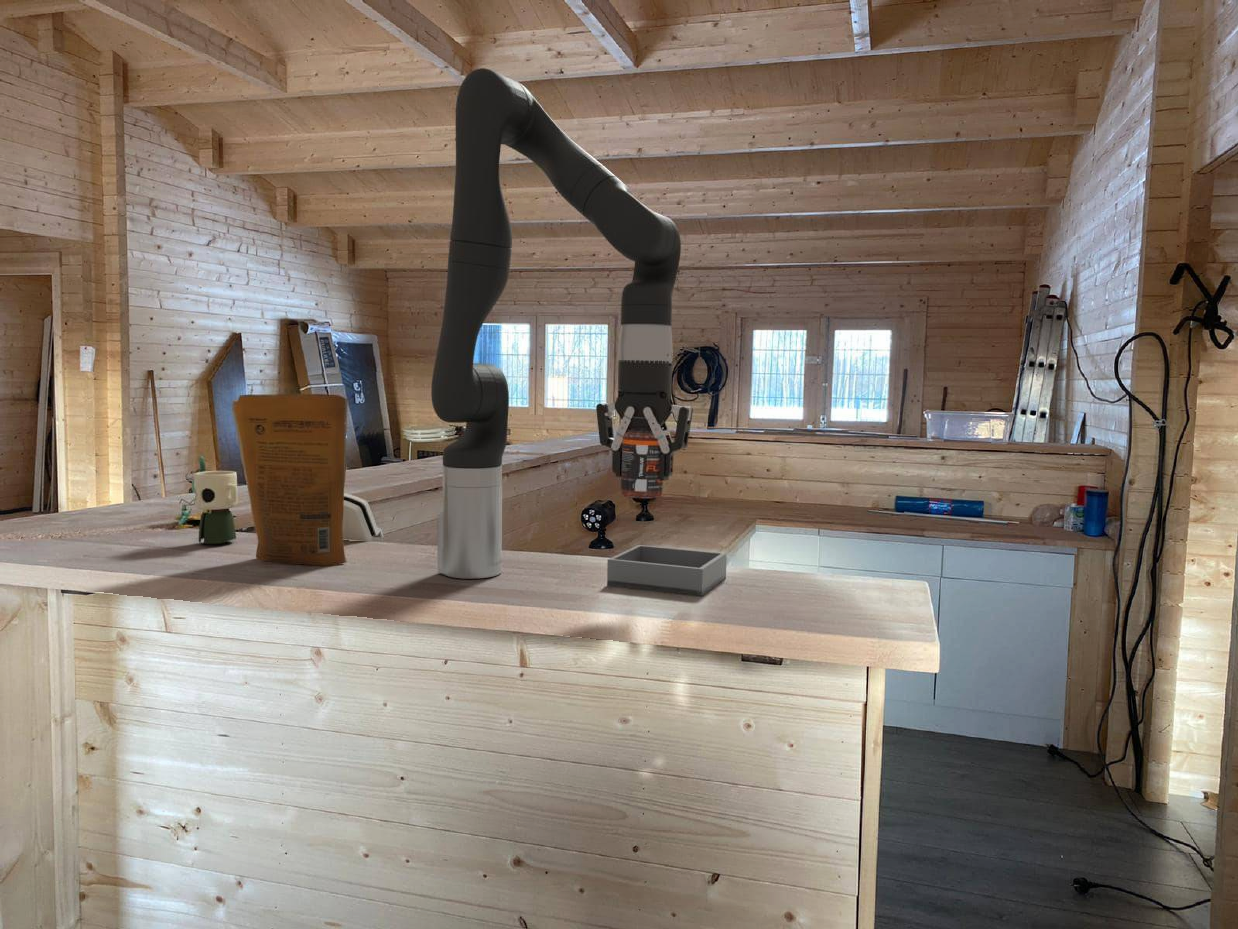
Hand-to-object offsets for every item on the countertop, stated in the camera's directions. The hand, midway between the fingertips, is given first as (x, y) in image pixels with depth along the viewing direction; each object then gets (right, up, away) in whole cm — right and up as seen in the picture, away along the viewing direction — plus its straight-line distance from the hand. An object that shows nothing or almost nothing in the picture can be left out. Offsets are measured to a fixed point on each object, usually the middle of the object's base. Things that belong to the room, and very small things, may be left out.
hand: (642, 477), depth 124 cm
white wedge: (-58, -12, +45) cm, 74 cm away
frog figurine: (-90, -10, +59) cm, 108 cm away
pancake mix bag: (-57, -15, +22) cm, 62 cm away
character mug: (-77, -13, +36) cm, 86 cm away
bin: (+4, -16, +13) cm, 21 cm away
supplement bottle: (0, -3, 0) cm, 3 cm away
